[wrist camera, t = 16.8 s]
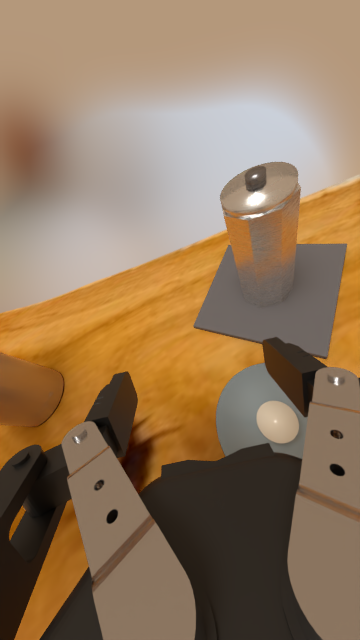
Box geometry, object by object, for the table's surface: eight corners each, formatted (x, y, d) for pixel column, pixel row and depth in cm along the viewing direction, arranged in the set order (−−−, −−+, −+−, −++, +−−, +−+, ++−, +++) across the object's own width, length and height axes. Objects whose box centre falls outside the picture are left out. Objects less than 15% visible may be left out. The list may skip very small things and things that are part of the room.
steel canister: (246, 310, 27) (221, 208, 15) (240, 277, 30) (214, 171, 19) (296, 300, 25) (311, 173, 13) (283, 265, 28) (286, 138, 17)
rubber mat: (194, 327, 30) (193, 326, 29) (229, 247, 35) (228, 245, 35) (326, 359, 21) (327, 357, 21) (345, 247, 27) (346, 243, 26)
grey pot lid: (202, 455, 22) (192, 457, 19) (237, 353, 25) (232, 343, 23) (344, 541, 15) (356, 559, 13) (360, 387, 19) (372, 379, 17)
